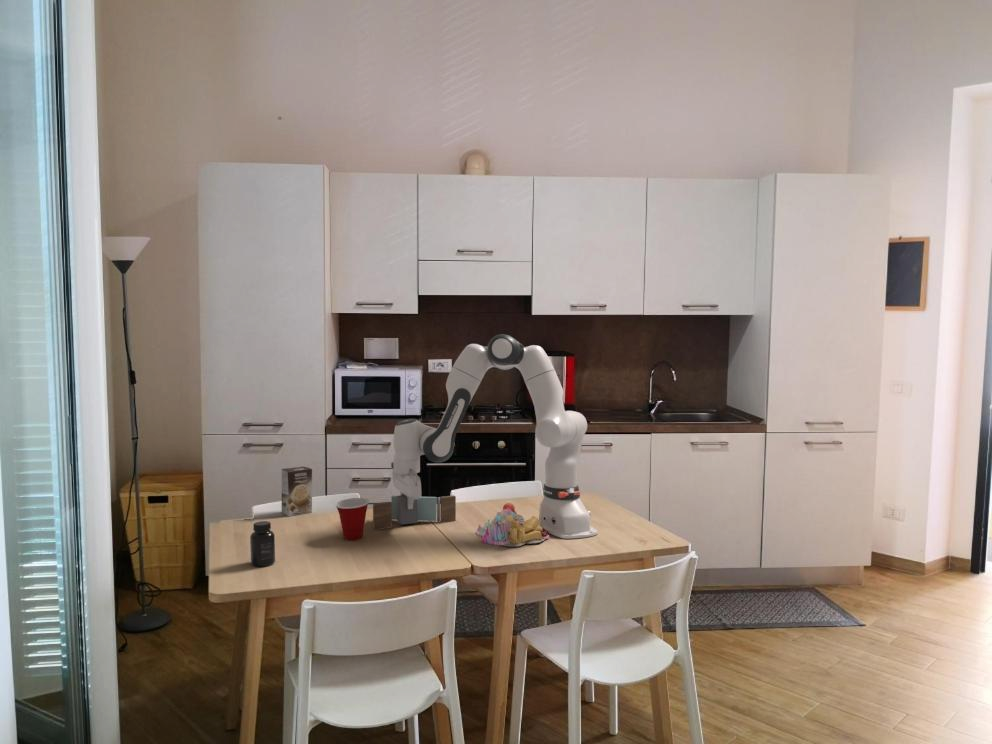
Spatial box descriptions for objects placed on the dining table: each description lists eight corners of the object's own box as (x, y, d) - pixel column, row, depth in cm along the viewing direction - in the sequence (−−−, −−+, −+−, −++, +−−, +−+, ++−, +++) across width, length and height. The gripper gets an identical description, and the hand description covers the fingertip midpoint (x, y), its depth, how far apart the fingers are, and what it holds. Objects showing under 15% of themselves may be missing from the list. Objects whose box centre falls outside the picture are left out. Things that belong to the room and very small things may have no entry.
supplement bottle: (277, 559, 237) (277, 519, 236) (272, 567, 230) (271, 526, 229) (254, 559, 237) (253, 519, 236) (247, 567, 230) (247, 526, 229)
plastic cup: (332, 534, 262) (331, 498, 261) (365, 531, 266) (364, 495, 265) (338, 544, 252) (338, 506, 251) (372, 540, 256) (372, 503, 255)
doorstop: (417, 522, 274) (417, 496, 274) (400, 524, 272) (400, 498, 271) (413, 519, 278) (413, 494, 277) (397, 521, 276) (396, 495, 275)
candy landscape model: (563, 537, 263) (563, 510, 262) (513, 553, 246) (514, 524, 245) (507, 522, 280) (508, 496, 279) (458, 536, 263) (458, 508, 263)
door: (439, 521, 278) (439, 497, 277) (391, 519, 279) (391, 496, 279) (440, 520, 279) (440, 497, 278) (392, 518, 280) (392, 495, 280)
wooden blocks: (455, 520, 280) (455, 496, 280) (374, 529, 269) (374, 504, 268) (453, 519, 282) (454, 495, 281) (373, 528, 270) (373, 503, 269)
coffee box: (289, 516, 283) (288, 471, 282) (281, 513, 288) (280, 468, 287) (312, 512, 289) (312, 468, 288) (304, 509, 294) (304, 465, 292)
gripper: (425, 472, 265) (426, 513, 267) (406, 460, 284) (406, 499, 285) (407, 473, 263) (407, 515, 264) (389, 462, 281) (389, 500, 282)
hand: (407, 506), depth 275 cm, fingers closed on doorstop, 4 cm apart
